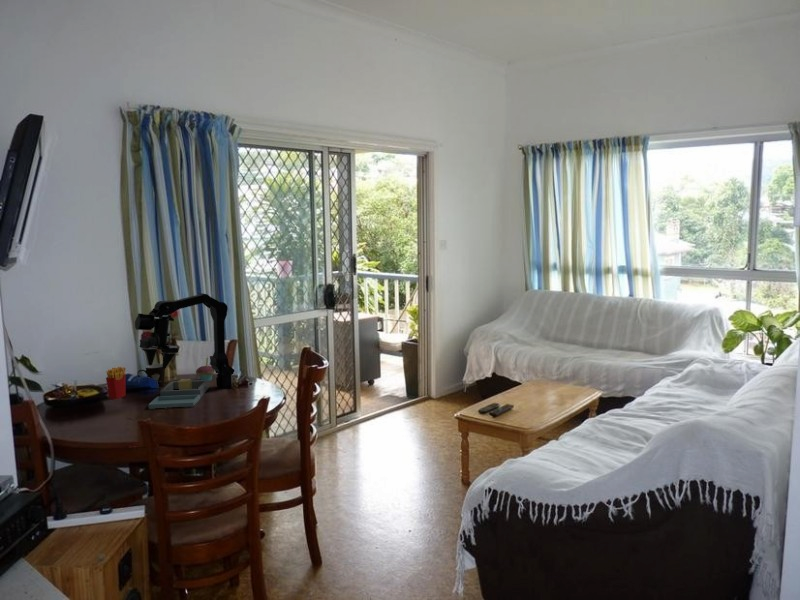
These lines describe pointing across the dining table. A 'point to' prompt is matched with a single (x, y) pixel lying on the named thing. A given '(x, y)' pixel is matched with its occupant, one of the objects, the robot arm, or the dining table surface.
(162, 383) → the coffee mug
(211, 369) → the cupcake
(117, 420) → the dining table surface
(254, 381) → the dining table surface
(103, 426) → the dining table surface
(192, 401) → the tray
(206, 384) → the bin
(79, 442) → the dining table surface
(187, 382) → the block
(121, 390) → the french fries
